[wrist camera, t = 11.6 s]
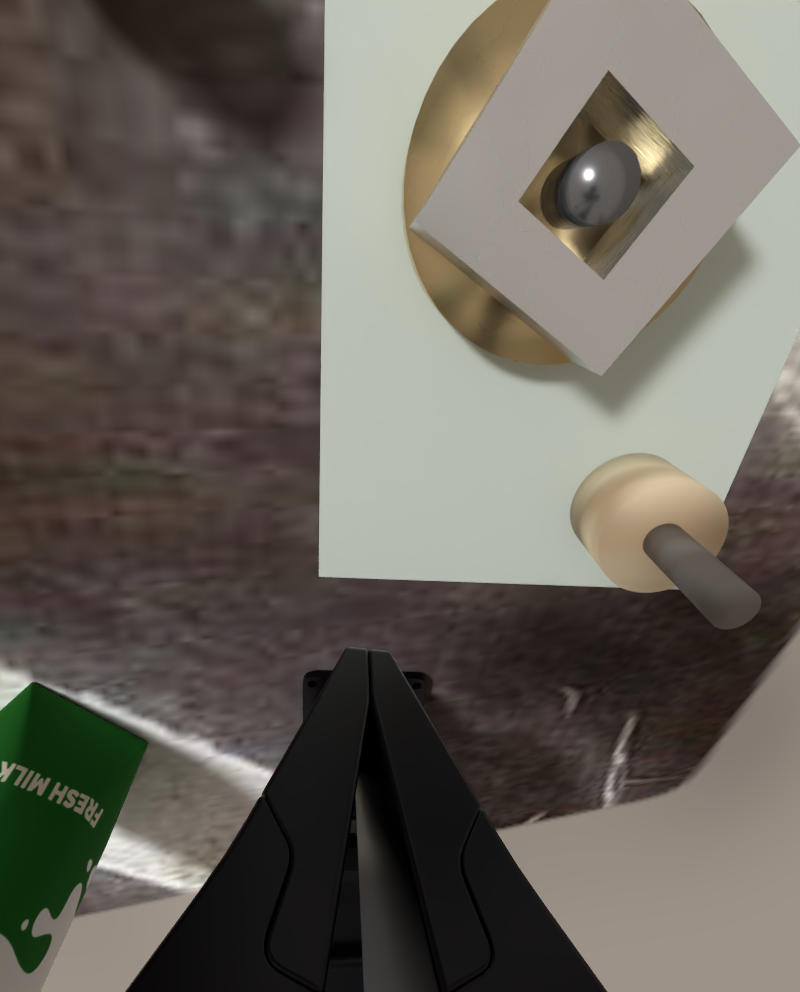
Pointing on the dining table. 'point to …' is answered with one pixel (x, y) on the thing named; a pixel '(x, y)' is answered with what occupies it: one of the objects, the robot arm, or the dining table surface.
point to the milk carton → (53, 822)
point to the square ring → (618, 117)
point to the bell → (550, 196)
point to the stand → (661, 535)
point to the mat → (505, 383)
